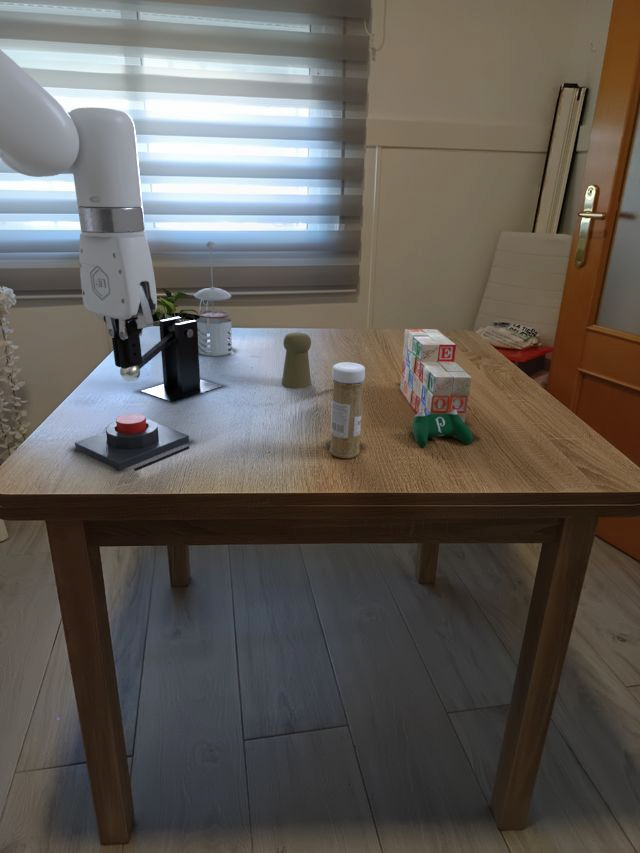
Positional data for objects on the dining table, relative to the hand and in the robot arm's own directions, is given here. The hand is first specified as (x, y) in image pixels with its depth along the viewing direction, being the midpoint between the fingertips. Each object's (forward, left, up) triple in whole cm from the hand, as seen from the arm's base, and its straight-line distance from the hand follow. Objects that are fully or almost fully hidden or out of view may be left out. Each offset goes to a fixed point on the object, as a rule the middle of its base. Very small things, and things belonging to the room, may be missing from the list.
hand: (129, 365), depth 78 cm
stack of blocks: (+51, -9, -13) cm, 53 cm away
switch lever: (+11, +19, -5) cm, 22 cm away
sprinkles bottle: (+26, -16, -13) cm, 33 cm away
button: (0, 0, -9) cm, 10 cm away
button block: (0, 0, -13) cm, 13 cm away
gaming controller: (+42, -20, -13) cm, 48 cm away
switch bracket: (+16, +20, -13) cm, 29 cm away
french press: (+33, +42, -13) cm, 55 cm away
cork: (+36, +12, -13) cm, 40 cm away
